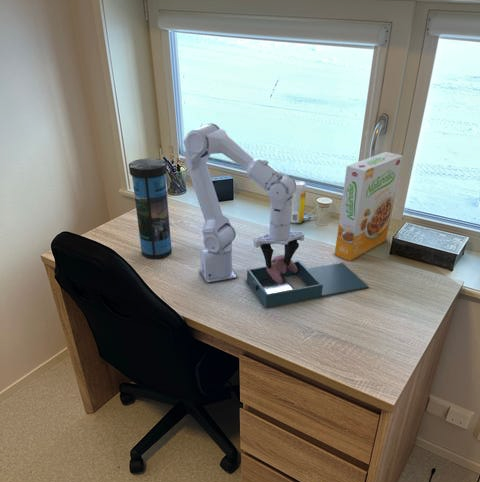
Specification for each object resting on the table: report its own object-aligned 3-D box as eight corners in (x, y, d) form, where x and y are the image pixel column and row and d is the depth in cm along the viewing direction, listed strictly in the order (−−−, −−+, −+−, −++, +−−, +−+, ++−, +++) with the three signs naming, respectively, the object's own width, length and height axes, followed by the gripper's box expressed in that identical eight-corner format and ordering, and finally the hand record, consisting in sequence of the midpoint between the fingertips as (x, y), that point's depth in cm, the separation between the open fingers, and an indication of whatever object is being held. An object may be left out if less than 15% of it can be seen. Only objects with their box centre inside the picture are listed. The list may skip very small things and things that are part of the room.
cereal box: (350, 260, 152) (364, 170, 136) (334, 254, 156) (346, 166, 139) (385, 240, 166) (403, 155, 149) (370, 234, 169) (385, 151, 153)
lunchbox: (263, 308, 129) (264, 295, 127) (245, 281, 141) (245, 269, 139) (368, 287, 138) (370, 275, 136) (342, 264, 150) (343, 252, 148)
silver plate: (270, 304, 131) (270, 303, 131) (254, 282, 141) (255, 282, 141) (300, 298, 133) (300, 297, 133) (282, 277, 143) (282, 277, 143)
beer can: (303, 217, 182) (306, 180, 173) (303, 224, 177) (306, 186, 168) (287, 217, 182) (290, 179, 174) (287, 223, 177) (290, 185, 169)
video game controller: (287, 272, 141) (280, 251, 139) (299, 271, 138) (292, 249, 136) (269, 286, 135) (261, 264, 133) (281, 285, 132) (274, 262, 130)
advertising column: (180, 250, 158) (173, 162, 141) (158, 263, 150) (148, 172, 133) (155, 242, 163) (146, 156, 146) (132, 254, 155) (120, 165, 139)
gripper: (260, 231, 120) (259, 276, 128) (310, 224, 125) (306, 267, 132) (251, 220, 126) (250, 264, 134) (299, 214, 130) (295, 256, 138)
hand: (277, 265), depth 133 cm, fingers closed on video game controller, 5 cm apart
